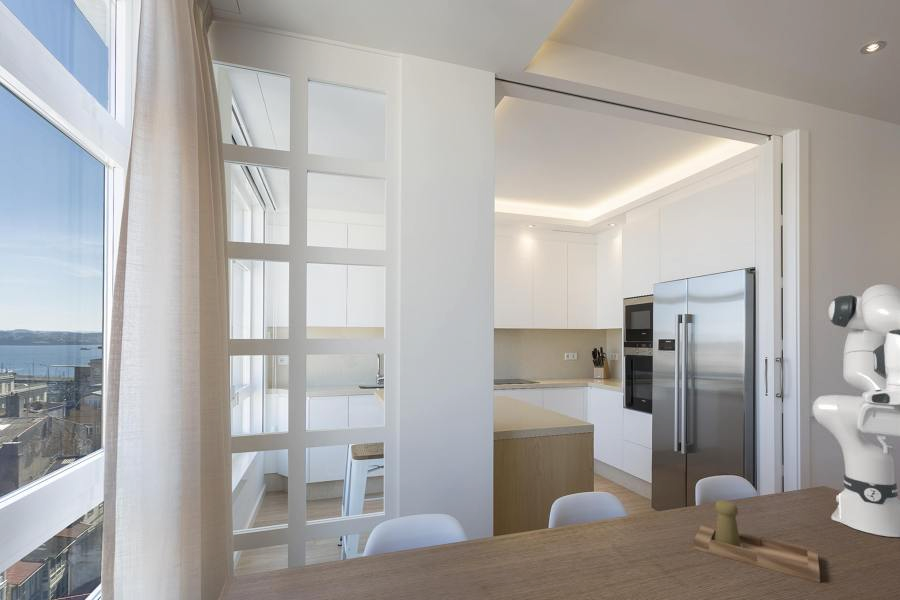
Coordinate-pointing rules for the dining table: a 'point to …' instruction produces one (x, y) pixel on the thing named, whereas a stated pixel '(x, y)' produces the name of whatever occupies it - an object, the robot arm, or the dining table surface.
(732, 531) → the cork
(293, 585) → the dining table surface
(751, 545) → the keyhole board
